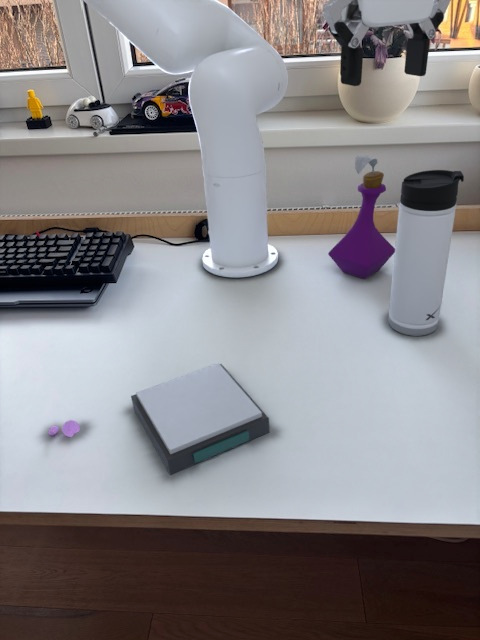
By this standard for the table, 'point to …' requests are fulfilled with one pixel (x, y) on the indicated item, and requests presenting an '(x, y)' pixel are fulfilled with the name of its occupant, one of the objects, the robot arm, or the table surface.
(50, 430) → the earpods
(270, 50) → the robot arm
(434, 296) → the travel mug
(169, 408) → the kitchen scale
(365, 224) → the purple potion bottle
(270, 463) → the table surface
